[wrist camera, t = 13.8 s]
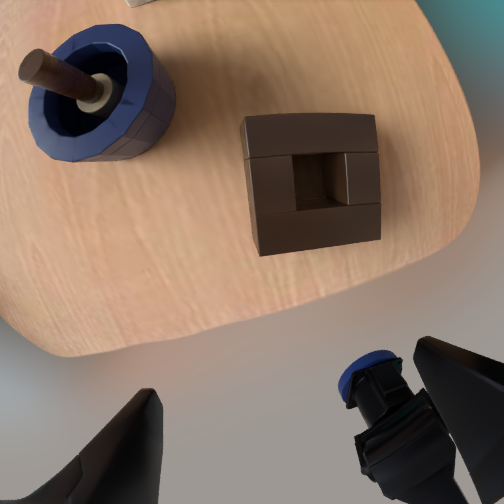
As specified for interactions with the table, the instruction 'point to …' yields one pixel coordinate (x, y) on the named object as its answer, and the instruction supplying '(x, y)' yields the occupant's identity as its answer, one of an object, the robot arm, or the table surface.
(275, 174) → the brush stand
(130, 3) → the multiport hub
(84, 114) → the blue hollow cylinder
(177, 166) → the table surface
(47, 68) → the brush
